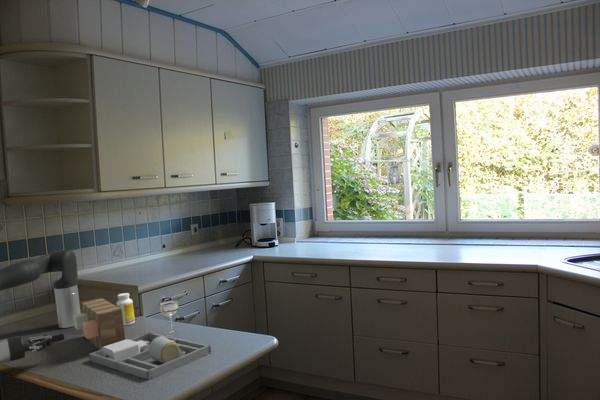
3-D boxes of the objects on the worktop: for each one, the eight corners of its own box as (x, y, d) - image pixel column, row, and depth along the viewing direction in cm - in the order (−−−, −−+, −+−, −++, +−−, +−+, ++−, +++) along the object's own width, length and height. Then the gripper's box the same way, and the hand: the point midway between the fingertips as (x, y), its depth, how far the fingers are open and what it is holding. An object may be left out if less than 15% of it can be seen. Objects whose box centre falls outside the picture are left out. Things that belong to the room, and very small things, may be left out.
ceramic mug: (162, 368, 158) (159, 344, 158) (149, 363, 164) (147, 339, 164) (191, 357, 166) (189, 334, 166) (177, 353, 172) (175, 330, 171)
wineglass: (162, 333, 197) (158, 302, 196) (179, 329, 199) (176, 299, 199) (164, 337, 191) (161, 306, 190) (182, 333, 193) (179, 302, 193)
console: (85, 336, 202) (81, 302, 201) (105, 331, 207) (101, 298, 206) (103, 353, 179) (98, 314, 178) (126, 346, 184) (121, 309, 183)
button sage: (74, 327, 197) (73, 315, 196) (88, 324, 199) (86, 311, 199) (77, 330, 192) (75, 317, 192) (91, 326, 195) (89, 314, 195)
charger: (155, 350, 177) (115, 365, 166) (142, 346, 183) (102, 359, 173) (154, 337, 177) (113, 350, 166) (141, 333, 183) (101, 346, 172)
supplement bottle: (137, 321, 218) (134, 291, 218) (131, 325, 212) (127, 295, 211) (123, 322, 219) (119, 292, 219) (116, 326, 213) (112, 296, 212)
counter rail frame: (89, 360, 172) (89, 353, 172) (150, 338, 190) (149, 332, 190) (148, 379, 150) (147, 371, 150) (211, 352, 168) (210, 345, 168)
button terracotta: (84, 336, 183) (82, 322, 183) (98, 332, 186) (96, 319, 186) (87, 338, 179) (85, 325, 179) (101, 335, 182) (100, 321, 182)
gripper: (7, 343, 162) (66, 329, 172) (3, 335, 173) (58, 322, 183) (10, 366, 162) (68, 351, 172) (6, 356, 173) (61, 342, 183)
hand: (63, 336), depth 177 cm, fingers closed
